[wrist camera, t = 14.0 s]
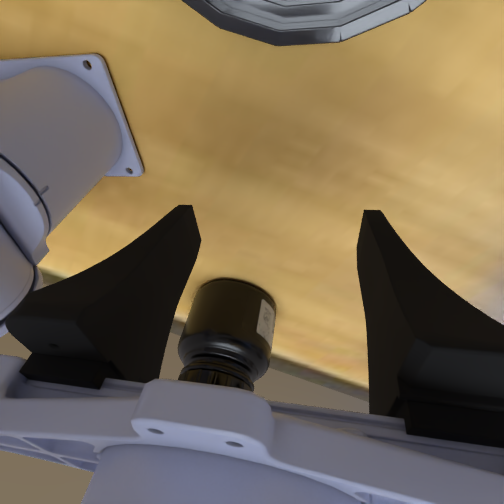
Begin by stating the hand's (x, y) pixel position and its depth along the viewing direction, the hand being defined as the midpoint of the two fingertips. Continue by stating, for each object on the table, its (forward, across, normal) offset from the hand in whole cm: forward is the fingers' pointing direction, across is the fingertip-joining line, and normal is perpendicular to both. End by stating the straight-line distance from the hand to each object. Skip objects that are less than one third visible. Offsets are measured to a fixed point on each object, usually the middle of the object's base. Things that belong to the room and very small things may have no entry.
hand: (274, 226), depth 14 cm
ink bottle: (+10, +6, +19) cm, 22 cm away
